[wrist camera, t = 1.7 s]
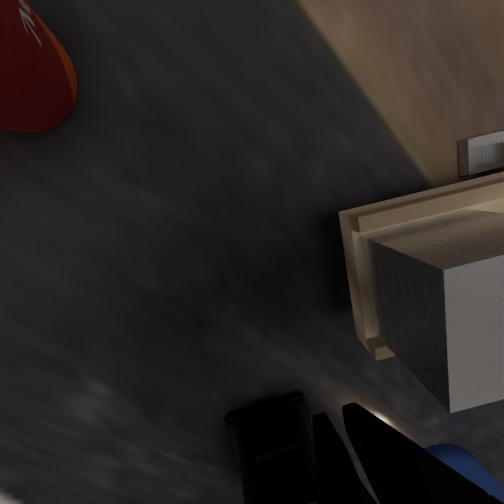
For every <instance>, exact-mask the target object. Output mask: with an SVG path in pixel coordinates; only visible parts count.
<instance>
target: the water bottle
mask: <svg viewBox="0 0 504 504" xmlns="http://www.w3.org/2000/svg"><path fill="white" fill-rule="evenodd" d="M425 450H427V451H428V452H429V453H431V454H432V455H434V456H435V457H437V458H438V459H440V460H441V461H443V462H444V463H446V464H447V465H449V466H450V467H452V468H453V469H455V470H456V471H457V472H459V473H460V474H462V475H463V476H465V477H466V478H468V479H469V480H471V481H472V482H474V483H475V484H477V485H478V486H480V487H481V488H483V489H484V490H485V491H487V492H488V495H490V494H491V495H493V496H495V497H496V498H497V499H499V500H500V501H502V502H503V503H504V489H503V487H502V486H501V485H500V484H499V483H498V482H497V481H496V480H495V479H494V478H493V477H492V476H491V475H490V474H489V473H488V472H487V471H486V470H485V469H484V468H483V467H482V466H481V465H480V464H479V463H478V462H477V461H476V460H475V459H474V458H473V457H472V456H471V455H470V453H469V452H467V451H466V450H465V449H464V448H462V447H460V446H458V445H453V444H440V445H434V446H431V447H429V448H426V449H425Z"/></svg>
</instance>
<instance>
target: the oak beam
mask: <svg viewBox="0 0 504 504" xmlns="http://www.w3.org/2000/svg"><path fill="white" fill-rule="evenodd" d="M463 209H472V210H480V211H488V212H497V213H504V172H500V173H496V174H492V175H488V176H483V177H479V178H475V179H471V180H467V181H463V182H459V183H455V184H451V185H447V186H443V187H438V188H434V189H430V190H426V191H422V192H418V193H414V194H410V195H406V196H402V197H398V198H393V199H389V200H385V201H381V202H377V203H373V204H369V205H365V206H361V207H357V208H353V209H348V210H344V211H340V212H339V219H340V226H341V233H342V240H343V247H344V253H345V260H346V267H347V274H348V281H349V288H350V295H351V301H352V308H353V315H354V322H355V329H356V336H357V338H358V339H359V340H360V342H361V343H362V344H363V345H364V346H365V348H366V349H367V350H368V351H369V352H370V354H371V355H372V356H373V357H374V358H375V360H376V361H377V360H381V359H385V358H389V357H393V356H395V355H394V354H393V353H392V352H391V351H390V350H389V349H388V348H387V347H386V346H385V344H384V343H383V342H382V341H381V340H380V339H379V338H378V337H377V336H376V335H375V334H374V333H373V332H372V326H371V319H370V311H369V303H368V295H367V287H366V280H365V272H364V264H363V256H362V248H361V241H360V235H362V234H366V233H370V232H374V231H378V230H382V229H386V228H390V227H395V226H399V225H403V224H407V223H411V222H415V221H419V220H423V219H427V218H431V217H435V216H439V215H443V214H447V213H451V212H455V211H459V210H463Z"/></svg>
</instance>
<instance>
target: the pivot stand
mask: <svg viewBox="0 0 504 504" xmlns="http://www.w3.org/2000/svg"><path fill="white" fill-rule="evenodd" d="M458 159H459V176H466V175H472V174H476V173H480V172H484V171H488V170H492V169H496V168H500V167H503V166H504V130H501V131H497V132H493V133H489V134H485V135H481V136H477V137H473V138H469V139H464V140H460V141H458Z"/></svg>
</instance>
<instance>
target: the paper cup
mask: <svg viewBox="0 0 504 504" xmlns="http://www.w3.org/2000/svg"><path fill="white" fill-rule="evenodd" d="M77 93H78V83H77V76H76V72H75V69H74V66H73V64H72V61H71V59H70V57H69V56H68V54H67V52H66V51H65V49H64V48H63V46H62V45H61V44H60V42H59V41H58V40H57V38H56V37H55V36H54V35H53V34H52V32H51V31H50V30H49V29H48V28H47V26H46V25H45V24H44V23H43V22H42V21H41V19H40V18H39V17H38V16H37V15H36V14H35V12H34V11H33V10H32V9H31V8H30V7H29V6H28V4H27V3H26V2H25V1H24V0H0V129H4V130H10V131H17V132H27V133H35V132H44V131H47V130H50V129H53V128H55V127H57V126H58V125H60V124H61V123H63V122H64V121H65V120H66V119H67V118H68V116H69V115H70V114H71V112H72V110H73V108H74V106H75V103H76V99H77Z"/></svg>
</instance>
